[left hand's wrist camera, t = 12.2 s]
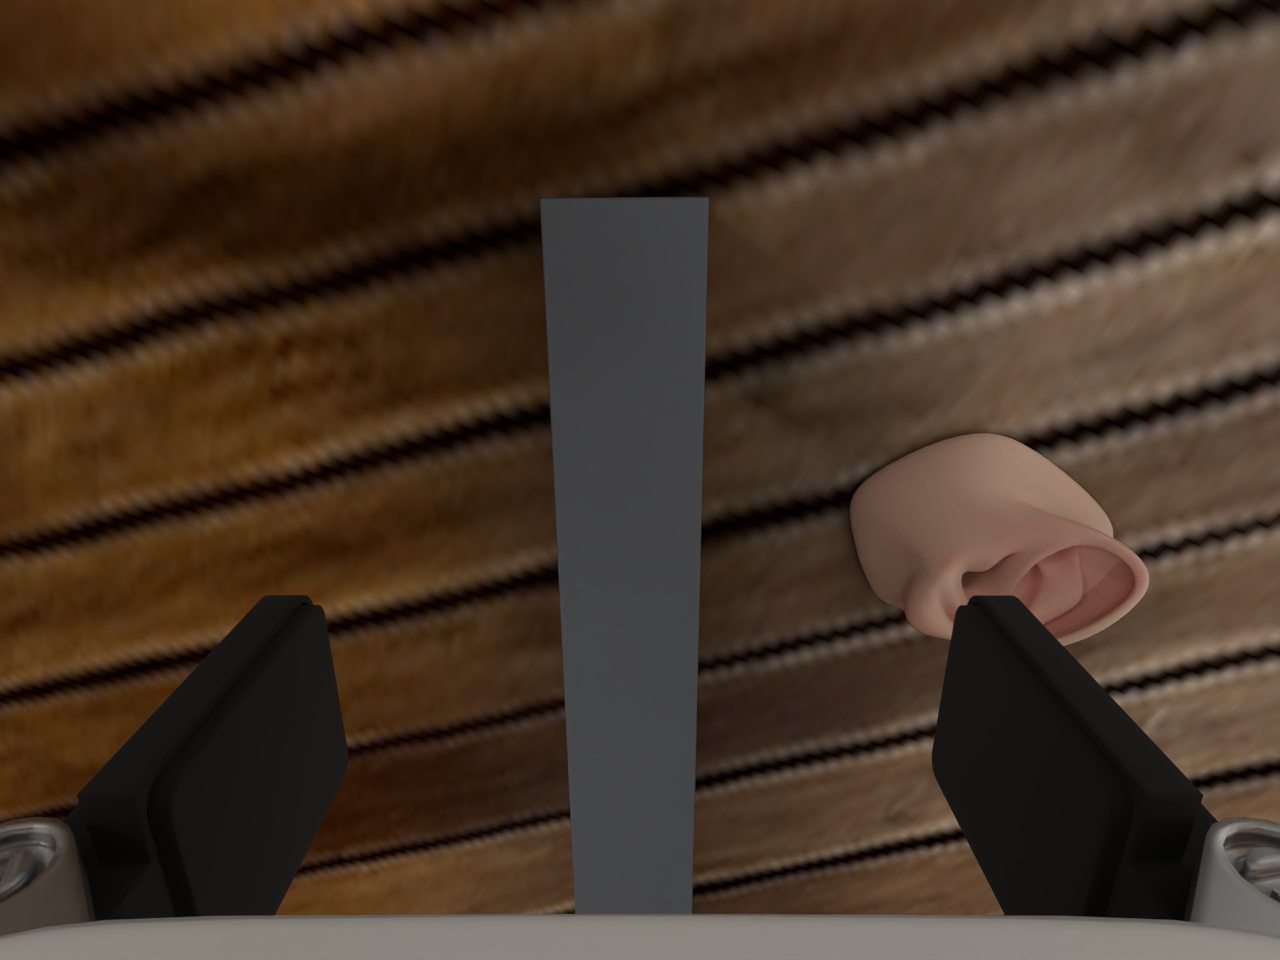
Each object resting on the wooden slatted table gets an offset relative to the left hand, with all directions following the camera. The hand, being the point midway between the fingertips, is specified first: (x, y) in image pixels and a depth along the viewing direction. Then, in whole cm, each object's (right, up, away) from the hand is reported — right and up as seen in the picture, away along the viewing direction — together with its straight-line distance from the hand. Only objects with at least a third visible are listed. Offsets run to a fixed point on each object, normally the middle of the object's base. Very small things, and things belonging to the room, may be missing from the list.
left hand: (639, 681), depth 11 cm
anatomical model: (+18, 0, +29) cm, 34 cm away
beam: (0, -21, +37) cm, 42 cm away
